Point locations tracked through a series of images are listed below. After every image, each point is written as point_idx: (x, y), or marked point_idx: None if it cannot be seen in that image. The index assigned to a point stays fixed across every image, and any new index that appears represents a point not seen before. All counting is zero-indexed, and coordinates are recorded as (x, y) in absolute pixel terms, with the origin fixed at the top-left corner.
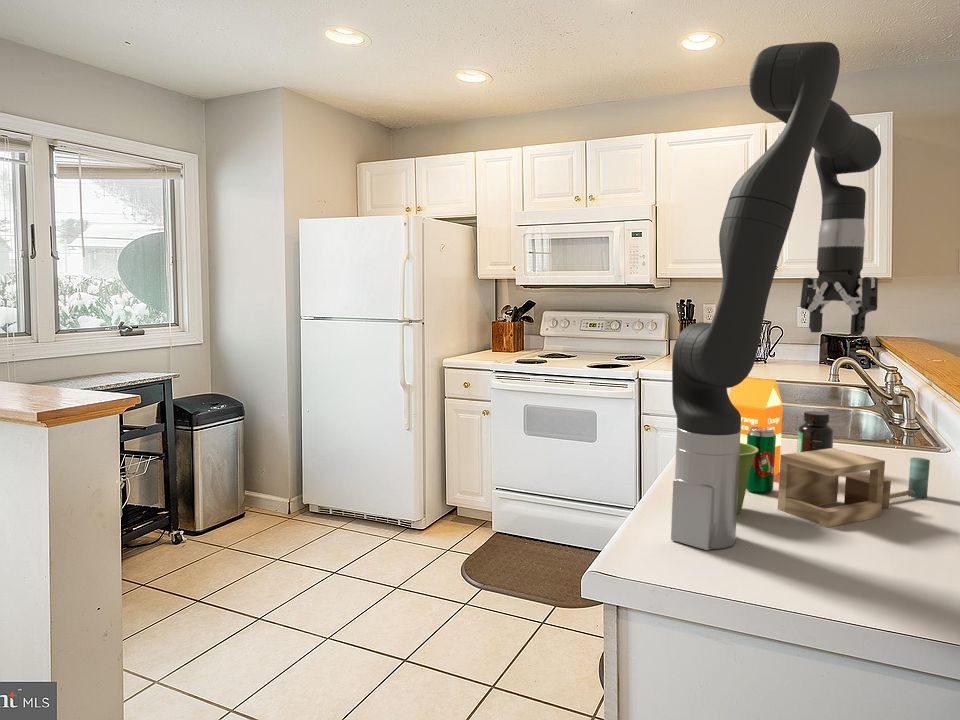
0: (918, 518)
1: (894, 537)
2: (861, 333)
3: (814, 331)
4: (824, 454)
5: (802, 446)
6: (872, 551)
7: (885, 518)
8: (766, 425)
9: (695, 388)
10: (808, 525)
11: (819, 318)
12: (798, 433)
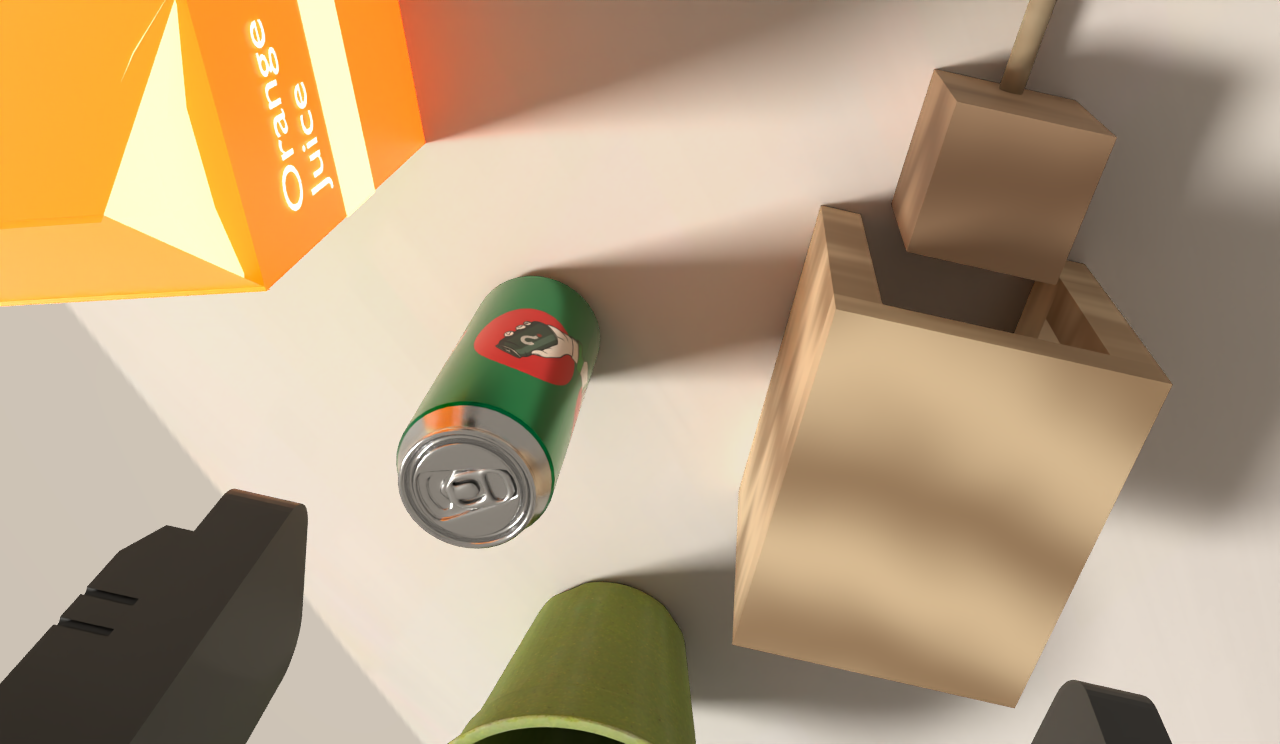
0: (1226, 147)
1: (1194, 465)
2: (1141, 708)
3: (294, 640)
4: (873, 488)
5: None
6: (1166, 638)
7: (1105, 268)
8: (309, 215)
9: None
10: None
11: (183, 737)
12: None
